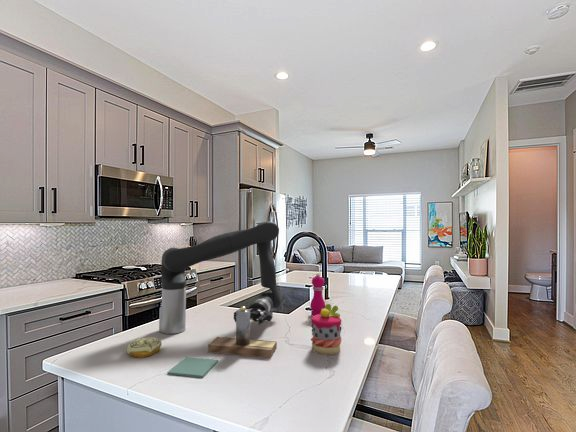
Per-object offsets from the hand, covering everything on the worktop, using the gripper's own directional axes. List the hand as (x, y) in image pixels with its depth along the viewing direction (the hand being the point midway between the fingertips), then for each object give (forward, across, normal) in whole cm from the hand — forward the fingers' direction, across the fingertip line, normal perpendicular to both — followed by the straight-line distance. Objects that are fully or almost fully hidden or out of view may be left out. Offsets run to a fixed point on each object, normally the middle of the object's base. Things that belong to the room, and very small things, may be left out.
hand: (247, 320), depth 119 cm
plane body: (+5, 0, +8) cm, 10 cm away
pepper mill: (-44, +21, +9) cm, 49 cm away
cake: (-2, +28, +9) cm, 29 cm away
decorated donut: (+13, -32, +9) cm, 36 cm away
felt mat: (+21, -10, +9) cm, 25 cm away
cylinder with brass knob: (+5, 0, +6) cm, 8 cm away
